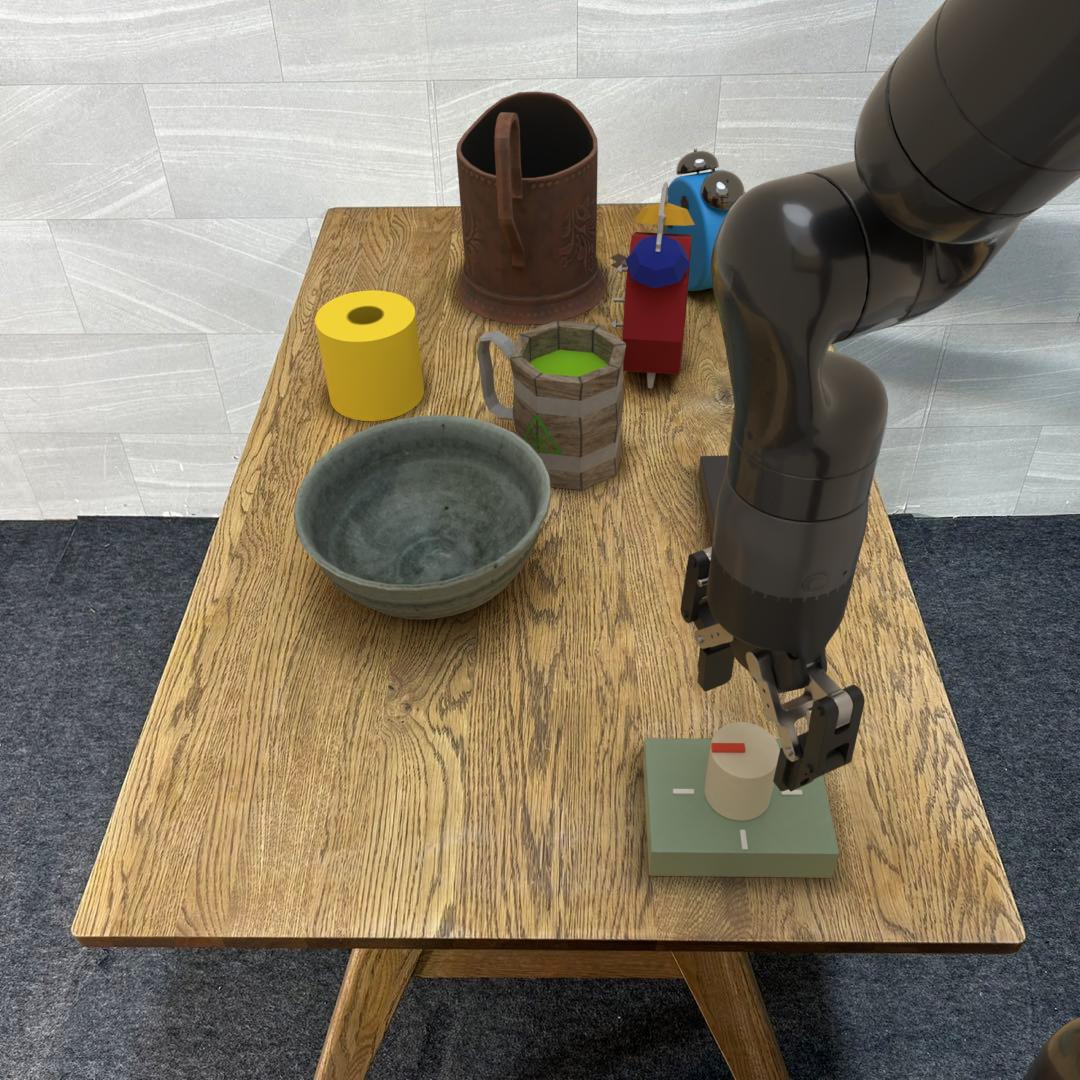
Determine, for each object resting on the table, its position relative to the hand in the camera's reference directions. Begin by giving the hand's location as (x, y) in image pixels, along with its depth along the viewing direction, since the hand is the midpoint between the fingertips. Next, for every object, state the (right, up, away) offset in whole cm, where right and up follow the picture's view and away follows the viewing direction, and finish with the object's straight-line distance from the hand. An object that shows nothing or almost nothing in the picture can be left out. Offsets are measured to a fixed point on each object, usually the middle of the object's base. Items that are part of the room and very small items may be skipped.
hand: (750, 730), depth 66 cm
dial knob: (0, -5, +4) cm, 7 cm away
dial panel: (0, -7, +6) cm, 10 cm away
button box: (+7, +13, +29) cm, 32 cm away
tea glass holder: (-15, +41, +60) cm, 74 cm away
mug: (-12, +21, +38) cm, 45 cm away
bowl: (-22, +8, +25) cm, 34 cm away
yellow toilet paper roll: (-31, +27, +46) cm, 61 cm away
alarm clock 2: (-2, +31, +49) cm, 58 cm away
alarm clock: (+6, +43, +62) cm, 75 cm away
